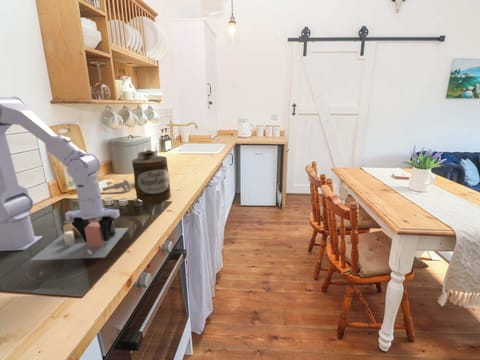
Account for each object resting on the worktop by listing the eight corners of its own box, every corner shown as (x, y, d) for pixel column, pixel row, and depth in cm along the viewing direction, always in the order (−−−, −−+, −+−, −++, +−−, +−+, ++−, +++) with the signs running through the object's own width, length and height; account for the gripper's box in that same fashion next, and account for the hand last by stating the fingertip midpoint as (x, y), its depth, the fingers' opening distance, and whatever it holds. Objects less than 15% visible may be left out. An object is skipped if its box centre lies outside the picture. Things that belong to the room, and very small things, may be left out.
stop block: (88, 247, 77) (84, 228, 76) (94, 240, 81) (91, 222, 80) (101, 246, 78) (98, 227, 76) (107, 239, 81) (104, 221, 80)
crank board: (30, 263, 72) (26, 247, 70) (69, 232, 89) (66, 219, 87) (105, 260, 72) (102, 244, 71) (129, 230, 89) (127, 217, 88)
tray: (64, 229, 91) (63, 222, 90) (81, 216, 102) (80, 210, 101) (96, 228, 91) (95, 221, 91) (110, 215, 102) (109, 209, 101)
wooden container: (141, 206, 111) (134, 154, 105) (133, 196, 123) (127, 149, 117) (175, 198, 119) (171, 150, 113) (164, 190, 131) (160, 146, 125)
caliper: (130, 190, 133) (128, 178, 131) (130, 191, 132) (128, 179, 130) (86, 194, 128) (83, 182, 126) (85, 195, 127) (83, 182, 125)
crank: (62, 239, 82) (59, 226, 80) (70, 232, 86) (67, 220, 85) (112, 237, 82) (110, 225, 81) (118, 231, 86) (116, 219, 85)
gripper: (54, 203, 71) (64, 247, 75) (109, 201, 72) (116, 245, 75) (69, 194, 78) (78, 235, 82) (119, 193, 79) (125, 234, 82)
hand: (97, 240), depth 79 cm, fingers open, 5 cm apart
